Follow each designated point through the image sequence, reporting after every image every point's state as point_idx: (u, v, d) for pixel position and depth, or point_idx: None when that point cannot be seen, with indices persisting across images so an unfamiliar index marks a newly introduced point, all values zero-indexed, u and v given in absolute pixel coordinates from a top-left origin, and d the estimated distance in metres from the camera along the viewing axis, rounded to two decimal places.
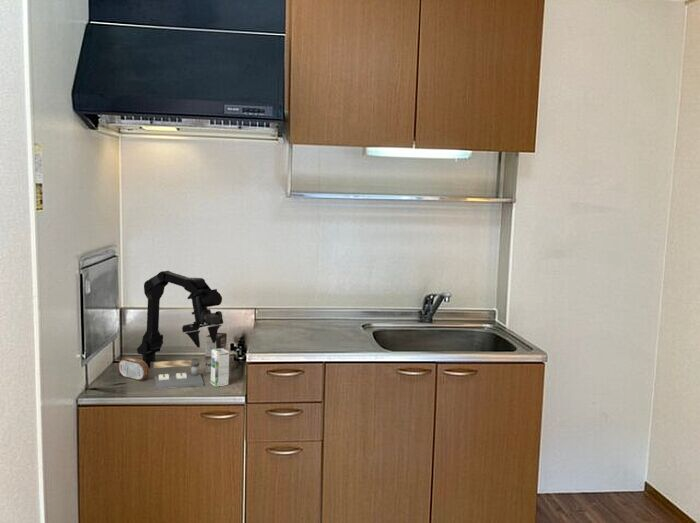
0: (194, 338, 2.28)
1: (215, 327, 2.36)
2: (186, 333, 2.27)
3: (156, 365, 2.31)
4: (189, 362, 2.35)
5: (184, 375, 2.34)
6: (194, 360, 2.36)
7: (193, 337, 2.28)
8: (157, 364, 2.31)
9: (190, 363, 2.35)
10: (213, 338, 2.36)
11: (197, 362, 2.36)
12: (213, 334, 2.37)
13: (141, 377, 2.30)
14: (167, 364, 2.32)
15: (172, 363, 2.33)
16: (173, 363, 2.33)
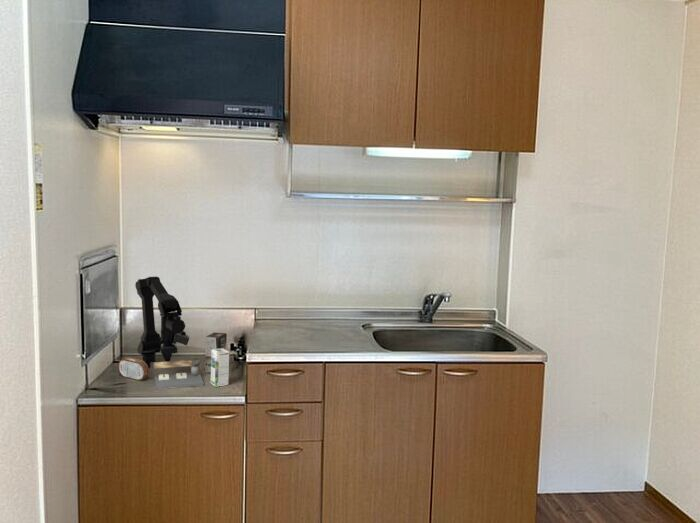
0: (166, 356, 2.33)
1: None
2: None
3: (156, 365, 2.30)
4: (189, 362, 2.35)
5: (184, 375, 2.34)
6: (194, 360, 2.36)
7: (166, 355, 2.33)
8: (157, 364, 2.30)
9: (190, 363, 2.35)
10: None
11: (197, 362, 2.36)
12: None
13: (141, 377, 2.30)
14: (167, 364, 2.32)
15: (172, 363, 2.32)
16: (173, 363, 2.33)
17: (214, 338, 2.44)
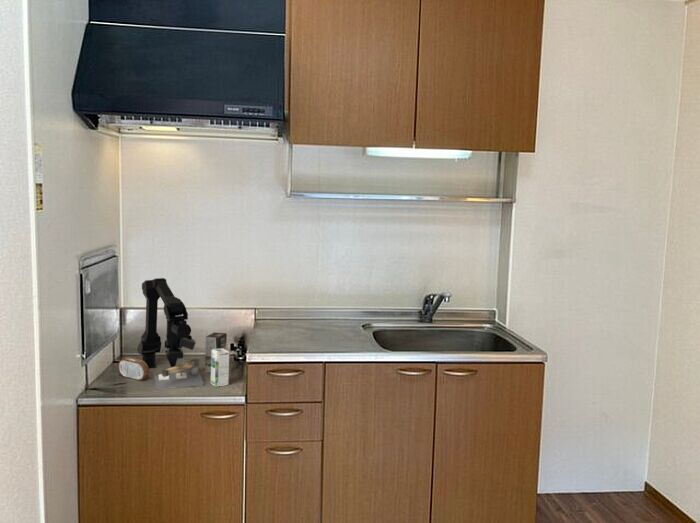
0: (172, 360, 2.27)
1: None
2: None
3: (170, 372, 2.23)
4: (192, 363, 2.35)
5: (184, 375, 2.34)
6: (195, 360, 2.37)
7: (171, 359, 2.27)
8: (171, 370, 2.23)
9: (193, 363, 2.35)
10: None
11: None
12: None
13: (141, 377, 2.30)
14: (178, 369, 2.27)
15: (181, 367, 2.28)
16: (182, 367, 2.29)
17: (214, 338, 2.44)
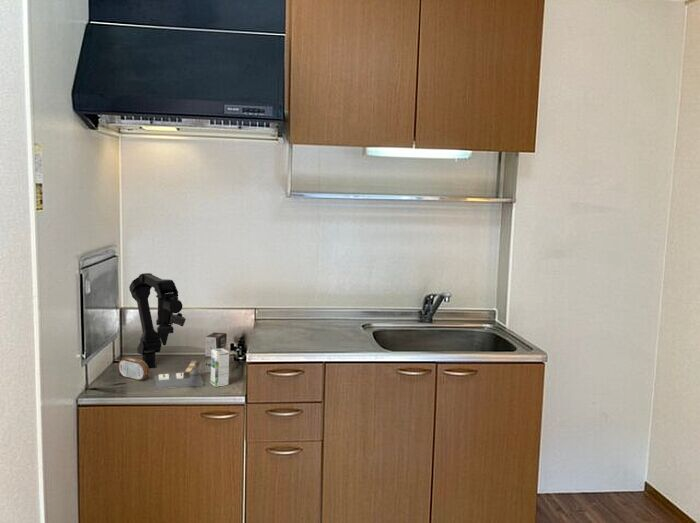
0: (163, 337, 2.37)
1: None
2: None
3: (190, 373, 2.22)
4: (196, 363, 2.35)
5: None
6: (195, 360, 2.37)
7: (163, 335, 2.36)
8: (190, 372, 2.22)
9: (196, 363, 2.35)
10: None
11: None
12: None
13: (141, 377, 2.30)
14: (192, 370, 2.26)
15: (193, 368, 2.28)
16: (193, 367, 2.28)
17: (214, 338, 2.44)
